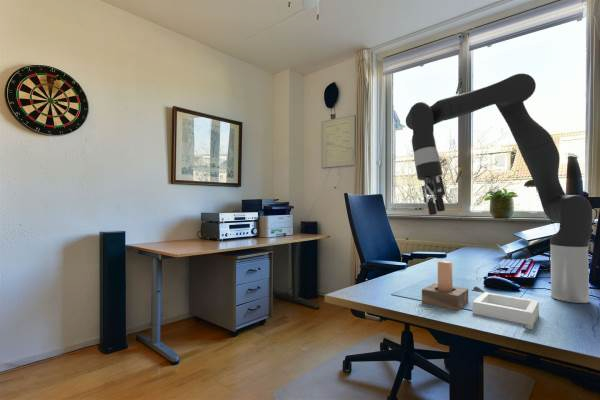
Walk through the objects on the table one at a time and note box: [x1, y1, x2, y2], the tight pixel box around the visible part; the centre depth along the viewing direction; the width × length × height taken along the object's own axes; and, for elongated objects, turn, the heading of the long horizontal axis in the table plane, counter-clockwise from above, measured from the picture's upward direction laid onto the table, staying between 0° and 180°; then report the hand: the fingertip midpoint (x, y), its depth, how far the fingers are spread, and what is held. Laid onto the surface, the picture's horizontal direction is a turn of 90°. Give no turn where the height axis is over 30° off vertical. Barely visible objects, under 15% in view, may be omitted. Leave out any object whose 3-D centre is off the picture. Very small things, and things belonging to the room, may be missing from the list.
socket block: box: [421, 282, 469, 312], centre depth 94 cm, size 10×10×5 cm
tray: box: [472, 291, 540, 330], centre depth 85 cm, size 13×13×4 cm
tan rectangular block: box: [437, 260, 454, 292], centre depth 94 cm, size 4×4×12 cm
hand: (436, 213), depth 99 cm, fingers open, 8 cm apart
